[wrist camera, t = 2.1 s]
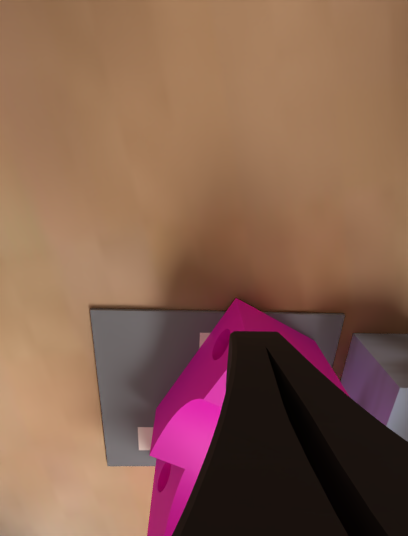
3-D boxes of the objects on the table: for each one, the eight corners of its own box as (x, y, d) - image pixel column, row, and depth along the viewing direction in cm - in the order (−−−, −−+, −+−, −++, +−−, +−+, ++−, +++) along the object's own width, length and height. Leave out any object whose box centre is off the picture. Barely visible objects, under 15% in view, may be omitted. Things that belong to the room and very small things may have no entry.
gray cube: (425, 333, 20) (493, 388, 16) (403, 391, 22) (459, 455, 17) (352, 332, 20) (399, 387, 15) (337, 390, 22) (375, 455, 17)
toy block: (235, 297, 18) (261, 389, 11) (314, 340, 20) (380, 445, 13) (127, 448, 23) (98, 579, 16) (197, 475, 24) (198, 606, 17)
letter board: (343, 313, 19) (345, 315, 19) (307, 463, 25) (308, 465, 24) (91, 308, 19) (89, 310, 18) (108, 463, 24) (107, 466, 24)
